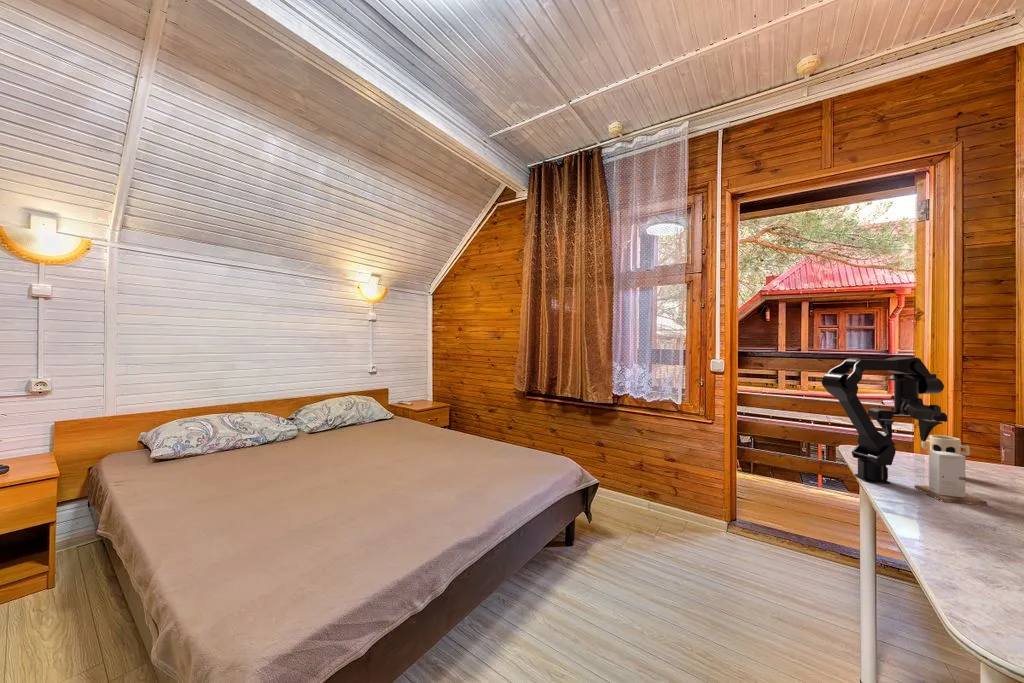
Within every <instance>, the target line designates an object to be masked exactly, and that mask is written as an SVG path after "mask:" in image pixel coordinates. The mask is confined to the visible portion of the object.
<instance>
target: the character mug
mask: <svg viewBox="0 0 1024 683" xmlns="http://www.w3.org/2000/svg"><path fill="white" fill-rule="evenodd" d="M926 443H929V446H927V445H926ZM921 448H922V449H924V450H929V451H942V452H952V453H957V454H960V455H963V456H970V452H971V450H970V448H971V447H970V446H969V445H965V444H962V441H961V439H960V438H958V437H954V436H948V435H943V434H941V435H940V434H929V439H926V441H921ZM962 448H963V449H964V451H962Z"/></svg>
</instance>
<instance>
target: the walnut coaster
mask: <svg viewBox="0 0 1024 683" xmlns="http://www.w3.org/2000/svg"><path fill="white" fill-rule="evenodd" d="M915 488H916V489H915ZM914 489H915V490H917V489H918V490H917V491H919V490H921V491H923V492H925V493H927V494H929V495H928V496H930V495H931V496H930V497H932V496H933V497H932V498H934V497H936V498H938V499H940V500H942V501H951V502H950V503H953V502H959V503H958V504H965V503H971V504H970V505H977V504H981V505H980V506H988V503H987V501H985V500H984V499H981V498H979V497H977V496H974V495H972V494H969V493H967V492H965V497H955V496H946V495H938V494H936V493H934V492H932V491H931V490H929V485H917V484H914ZM921 491H920V492H921ZM923 492H922V493H923ZM925 493H924V494H925ZM927 494H926V495H927ZM936 498H935V499H936ZM938 499H937V500H938ZM940 500H939V501H940ZM942 501H941V502H942Z"/></svg>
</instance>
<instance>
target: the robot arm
mask: <svg viewBox="0 0 1024 683" xmlns="http://www.w3.org/2000/svg"><path fill="white" fill-rule="evenodd" d="M850 371H852V372H851V373H850V374H847V373H849V372H850ZM865 371H884V372H885V371H886V372H889V373H893V374H892V375H891V376H890V377H889V376H888V378H887V379H888V381H893V389H894V390H893V392H894V394H893V395H890V398H891V399H892V400H893V402H894V403H893V407H890V408H891V409H890V410H889V409H885V408H876V407H875V408H874V407H870V408H869V409H868V410H867V411H866V409H865V407H864V406H863V403H862V402H861V400H860V399H859V397H858V392H859V386H858V383H859V382H861V381H862V379H863V372H865ZM821 379H822V380H821V385H822V386H823V388H824V389H825V390H826V391H827V393H829V394H830V395H831V396H833V398H835V399H837V401H838V402H839V403H840V405H841V406H842V408H843V410H844V412H845V414H846V415H847V417H848V419H849V420H850V422H851V423H852V425H853V427H854V429H855V430H856V432H857V434H858V436H857V440H856V441H857V445H856V446H855V447H854V449H852V451H851V456H852V458H854V459H857V473H854V476H855V477H857V478H859V479H861V480H862V481H864V480H865V481H864V482H866V481H867V482H868V483H877V484H878V483H879V484H891V482H890V481H889V467H887V466H892V464H893V461H894V458H895V456H896V446H895V445H896V443H895V442H894V441H893V440H892V438H893V423H894V422H895V420H893V418H908V419H909V418H912V419H914V420H917V421H918V422H917V423H918V430H919V436H920V437H919V438H920V440H921V442H922V441H926V440H928V438H929V437H930V435H931V432H932V430H933V429H934V428H935V427H937V426H938V425H942V424H943V423H944V422H945V423H948V422H949V417H948V414H946V413H945V412H942V407H941V406H940V405H938V404H930V405H928V404H924V401H923V400H924V399H923V398H920V395H934V394H935V395H937V394H940V393H942V392H943V391H944V389H945V385H944V383H943V381H942V380H941V379H940V378H938V377H937V374H936V373H931V372H930V370H929V369H928V367H927V366H926V365H925V363H924V362H923V361H922V359H921V358H920V357H913V356H912V357H909V356H894V357H893V356H892V357H888V358H885V359H876V358H875V359H872V358H871V359H870V358H865V359H864V358H857V357H856V358H853V357H849V358H846V359H844V361H843V362H841V363H840V364H839V365H836V366H834V367H833V368H831V369H830V370H828V372H826V373H825V374H824V375H823V377H822V378H821ZM870 417H871V418H872V419H873V420H876V422H877V423H878V425H879V426H880V428H881V429H882V431H883V432H880V431H878V430H877V428H876V426H875V424H874V422H873V420H872V419H871V418H870Z"/></svg>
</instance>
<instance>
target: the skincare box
mask: <svg viewBox="0 0 1024 683" xmlns="http://www.w3.org/2000/svg"><path fill="white" fill-rule="evenodd" d="M928 455H929V456H928V472H929V473H928V486H929V490H931V491H932V492H934V493H936V494H938V495H946V496H955V497H965V493H966V455H960V454H957V453H952V452H942V451H930V450H929V451H928Z"/></svg>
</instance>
